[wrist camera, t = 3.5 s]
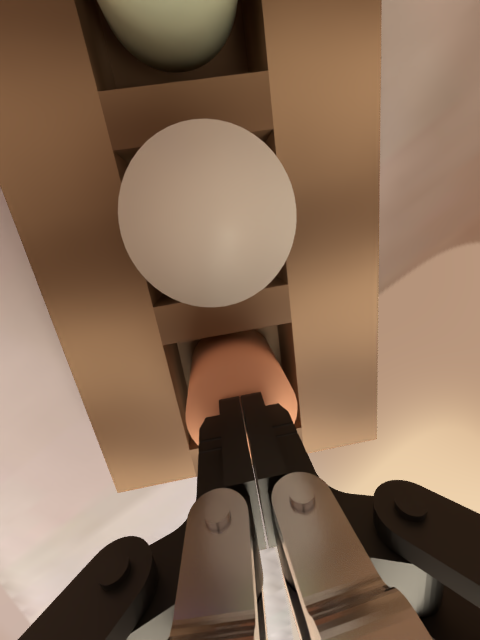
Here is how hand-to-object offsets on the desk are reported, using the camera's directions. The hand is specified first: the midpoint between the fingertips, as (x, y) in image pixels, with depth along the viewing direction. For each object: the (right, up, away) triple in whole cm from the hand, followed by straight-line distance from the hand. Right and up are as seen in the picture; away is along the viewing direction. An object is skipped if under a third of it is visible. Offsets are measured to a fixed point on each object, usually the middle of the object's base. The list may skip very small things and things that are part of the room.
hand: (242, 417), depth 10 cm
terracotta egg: (0, +1, +4) cm, 4 cm away
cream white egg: (-1, +7, 0) cm, 7 cm away
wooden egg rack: (-1, +8, +3) cm, 8 cm away
